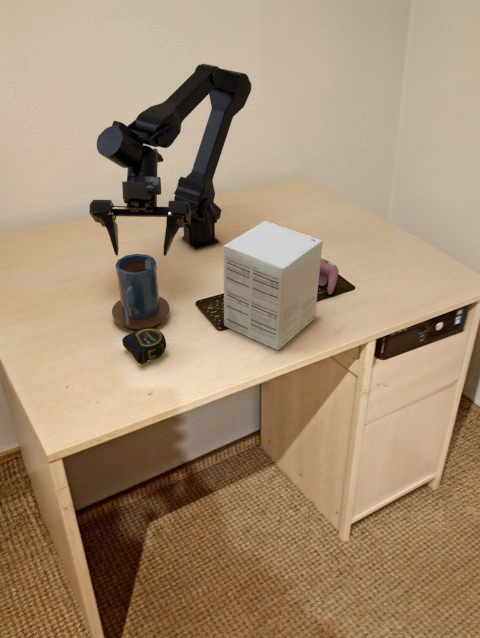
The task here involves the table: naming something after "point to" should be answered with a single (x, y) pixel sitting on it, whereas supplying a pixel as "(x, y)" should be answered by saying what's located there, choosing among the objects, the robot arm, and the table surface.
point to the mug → (139, 293)
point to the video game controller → (328, 275)
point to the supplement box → (271, 283)
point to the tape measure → (145, 344)
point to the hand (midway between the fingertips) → (140, 255)
